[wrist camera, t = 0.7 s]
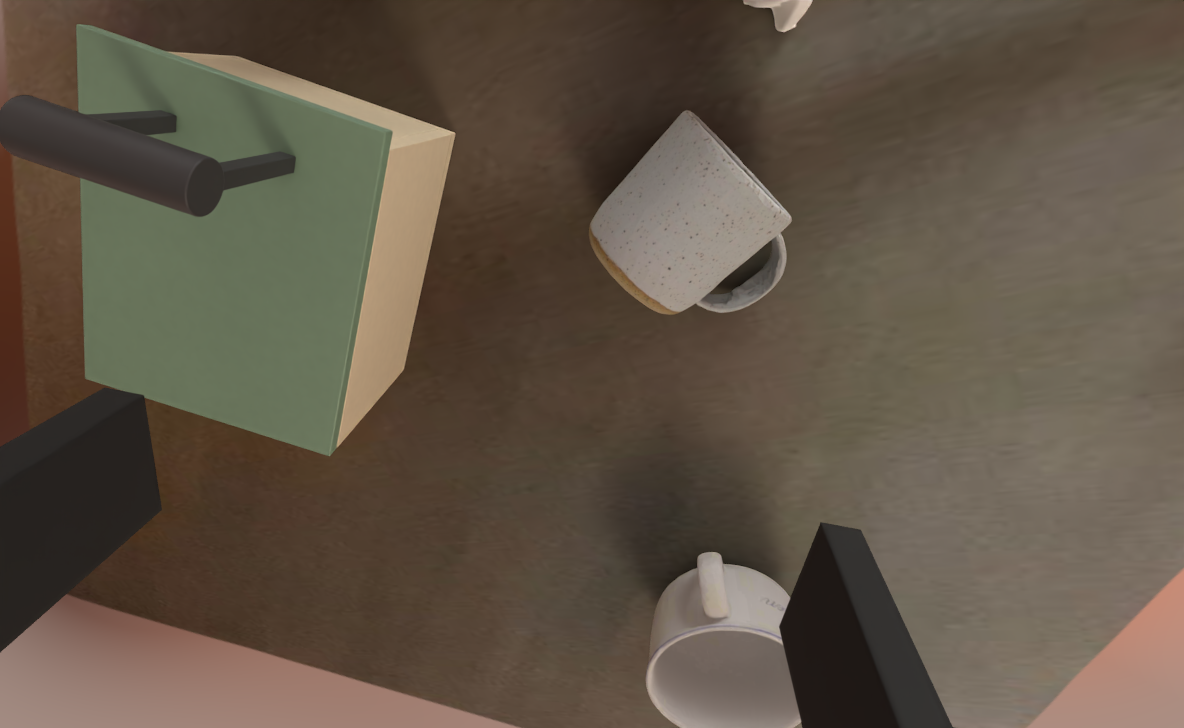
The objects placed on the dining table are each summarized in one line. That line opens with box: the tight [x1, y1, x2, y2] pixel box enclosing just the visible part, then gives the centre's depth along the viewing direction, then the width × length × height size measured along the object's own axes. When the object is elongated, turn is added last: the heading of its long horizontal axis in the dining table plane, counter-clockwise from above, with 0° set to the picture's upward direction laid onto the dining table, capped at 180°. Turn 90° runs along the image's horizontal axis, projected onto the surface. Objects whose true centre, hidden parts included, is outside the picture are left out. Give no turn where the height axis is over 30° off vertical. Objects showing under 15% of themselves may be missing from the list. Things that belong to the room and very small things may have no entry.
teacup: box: [646, 552, 801, 728], centre depth 43 cm, size 14×11×8 cm
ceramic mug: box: [589, 110, 792, 315], centre depth 33 cm, size 11×8×8 cm
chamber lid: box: [0, 24, 393, 456], centre depth 25 cm, size 16×13×8 cm
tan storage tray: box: [169, 52, 455, 448], centre depth 34 cm, size 16×13×10 cm
